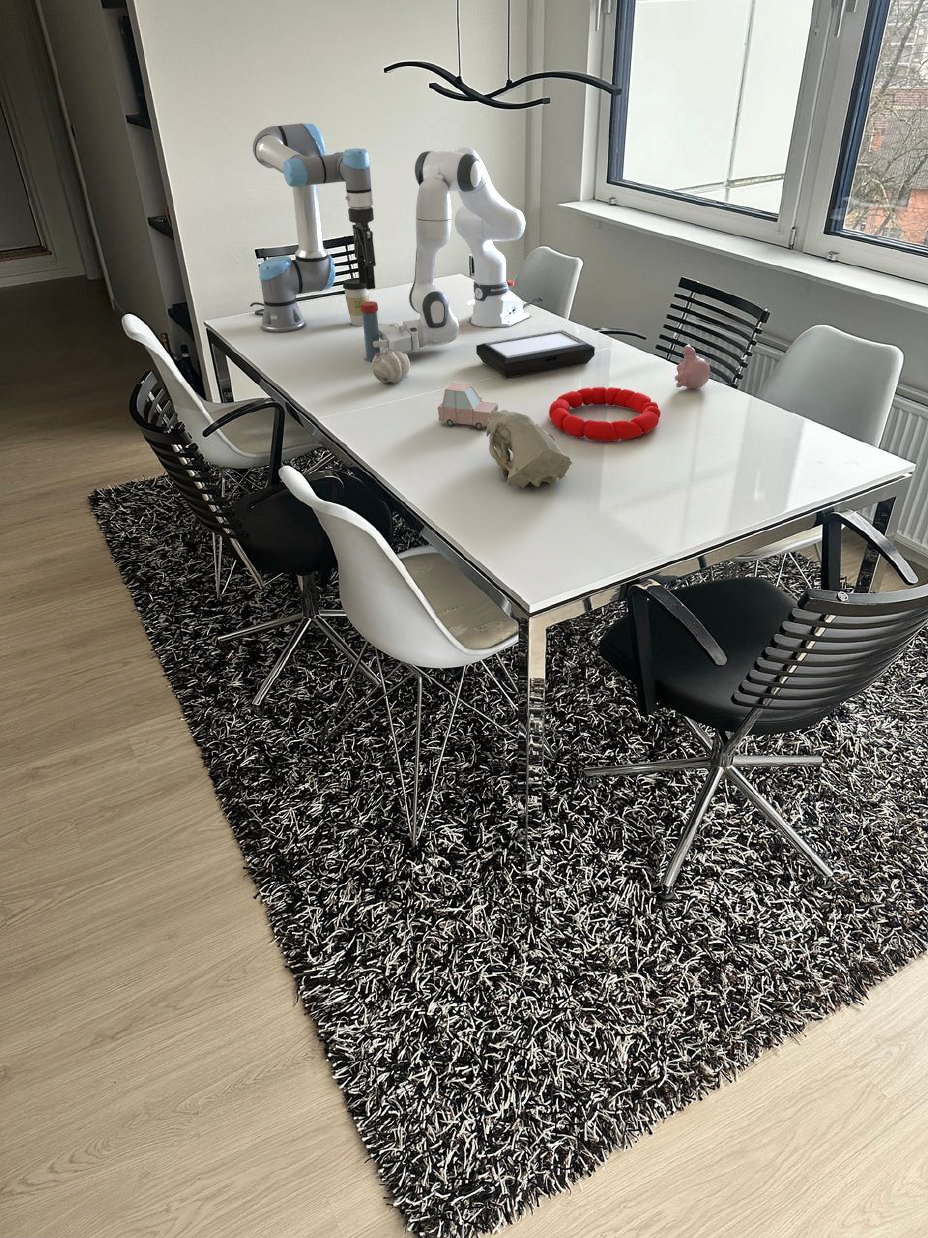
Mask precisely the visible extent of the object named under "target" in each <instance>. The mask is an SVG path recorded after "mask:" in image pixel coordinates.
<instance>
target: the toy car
mask: <svg viewBox="0 0 928 1238" xmlns="http://www.w3.org/2000/svg"><path fill="white" fill-rule="evenodd" d="M498 409H499V404H498V403H497V402H490V401H489V402H487V401H483V397H481V396H480V395H479V394H478V393H477V391H476V390H475V389H474V386H472V384H469V383H459V382H451V383H450V384H449V385H448V386H447V387H446V388H445V389H444V394H443V399H442V403H440V404H439V405H438V406H437V413H438V421H439V422H443V423H446V425H447V426H448V427H452V426H454V425H455V424H461V425H469V426H473V427H475V429H476V430H479V431H480V430H481V429H483V428H485V427H486V428H487V423H488V422H490V414H491V413H492V412H496V411H499V410H498Z"/></svg>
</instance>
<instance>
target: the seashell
mask: <svg viewBox="0 0 928 1238" xmlns="http://www.w3.org/2000/svg"><path fill="white" fill-rule="evenodd" d="M371 362H372V363H371V371H372V374H373V377H375V378H376V379H377V380H378V381H379V382H380V383H384V384H388V383H389V382H390V383H393V384H396V383H400V382H402V381H403V380H404V378H406V376H407V375H408V373H409V372H410V368H411V362H410V358H409V357H408V354H407V353H405V352H404V353H403V352H401V351H396V350H390V349H384V350H383V352H380V353H376V354H375V357H374V358H373V361H371Z"/></svg>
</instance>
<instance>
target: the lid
mask: <svg viewBox="0 0 928 1238" xmlns="http://www.w3.org/2000/svg"><path fill="white" fill-rule="evenodd" d="M378 306H379V305H378V302H377V301H374V300H369V301H367V302H362V303H361V304H360V307H361V312H363V313H374V312H377V313H378V311H379V307H378Z"/></svg>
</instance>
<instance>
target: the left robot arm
mask: <svg viewBox="0 0 928 1238" xmlns="http://www.w3.org/2000/svg"><path fill="white" fill-rule="evenodd" d="M325 145H326V144H325V142H324V138H323V135H322V133H321V131H320V130H319V128H318V126H317V125H315V124H314V123H306V122H305V123H304V122H303V123H302V122H301V123H300V122H299V123H291V124H283V125H271V126H267V127H265V128H263V129H262V130H260V131H259V132H258V133H257V135H256V136H255V138H254V139H253V142H252V153H253V156H254V158H255V159H256V161H257V162H258V163H259V164H260V165H261V166H263V167H265V168H267V169H275V170H276V171H278V172H279V173H281V174H283V177H284V180H285V182H286V184H287V186H289V187H292V195H293V204H294V205H293V206H294V215H295V225H296V233H297V244H298V248H297V250H296V251H295V252H294V257H295V259H292V258H291V257H290V256H288V255H281V256H275V257H271V258H268V259H265V260H263V261H262V262H261V263H260V265H259V266H258V270H259V271H258V273H259V280H260V287H261V292H262V299H263V302H257V301H255V302H252V303H250V305H249V307H250V308H251V307H253V306H256V305H257V306H262V307H263V308H260V309H256V310H255V311H254V315H255V316H262V319H261V326H262V330H264V331H265V332H271V333H286V332H293V331H296V330H297V331H298V330H300V329H302V328H304V326H305V319H304V317H303V314H302V312H301V310H300V307H299V306H298V305H299V304H298V303H297V295H303V294H310V293H316V292H323V291H327V290H330V289H331V288H332V287H333V285H334V283H335V280H336V265H335V261H334V259H333V257H332V256H331V255H329V252H328V250H327V249H326V248H325V247H324V244H323V243H324V242H323V232H322V219H321V208H320V207H321V206H320V197H319V186H318V185H323V184H325V185H326V184H335V183H344V182H345V189H346V190H345V192H346V195H345V200H347V201H346V202H347V207H348V209H347V212H348V221H349V222H350V223H353V224H352V226H351V227H352V232H353V233H352V234H353V248H354V250H353V251H354V258H356V261H357V262H356V264H357V271H358V272H357V275H358V278H359V283H360V284H362V283H366V289H367V290H368V289H369V290H374V289H375V290H376V277H375V268H374V267H376V266H377V263H376V254H375V247H374V246H375V245H374V232H373V230H371V228H370V225H369V223H371V222H373V221H374V220H375V215H374V208H373V205H374V201H373V200H374V199H373V190H372V180H371V179H372V176H371V161H370V157H369V156H370V155H369V152H368V150H367V149H365V148H348V149H345V150H344V151H339V152H338V151H336V152H334V153H332V154H327V152H326V146H325Z"/></svg>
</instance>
